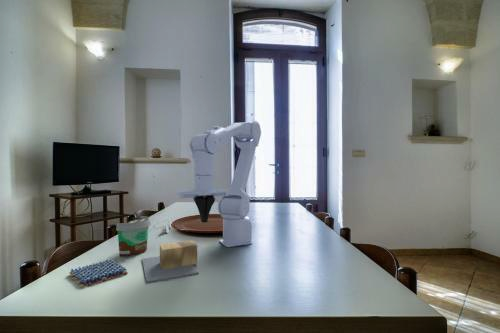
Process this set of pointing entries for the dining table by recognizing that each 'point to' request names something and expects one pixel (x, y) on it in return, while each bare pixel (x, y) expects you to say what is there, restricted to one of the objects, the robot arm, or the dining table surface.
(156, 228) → the sunglasses
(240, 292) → the dining table surface
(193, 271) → the grey rubber mat
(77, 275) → the woven mat
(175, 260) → the wood block
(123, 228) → the food container
